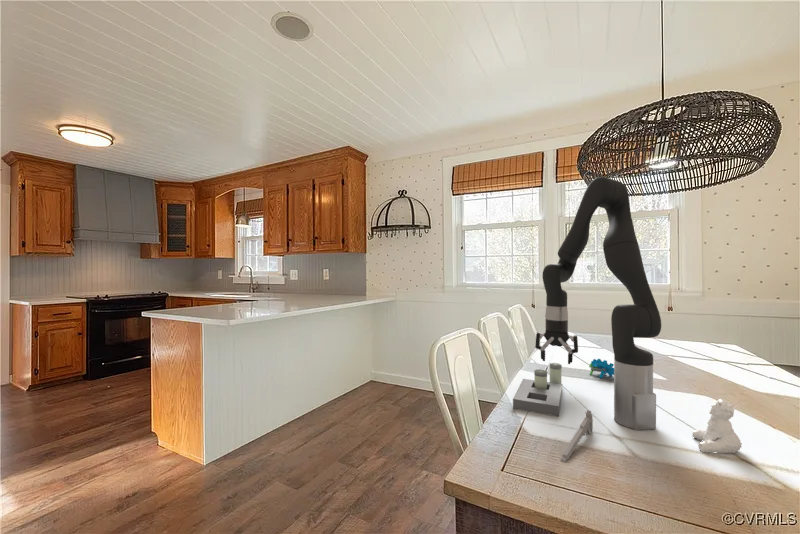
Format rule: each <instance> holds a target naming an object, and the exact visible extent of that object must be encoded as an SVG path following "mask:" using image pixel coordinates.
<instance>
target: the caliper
mask: <svg viewBox="0 0 800 534" xmlns="http://www.w3.org/2000/svg"><path fill="white" fill-rule="evenodd" d="M593 428H594V425H593V413H592V411H591V410H588V409H587V410H586V412H585V417H584V418H583V419H582V421H581V423H580V424H579V428H578V429H577V431H576V432H575V433H574V435H573V436H572V438H571V440H570V441H569V442H568V444H567V446H566V448H565V449H564V450H563V452H562V454H561V455H562V456H561V457H560V461H561V462H564V463H566V462H567V460H568V459H570V457H571V456H572V454H573V452H574V451H575V449H576V447H577V445H578V444H579V442H580V441H581V439H583V436H584V437H585V436H586V435H589V436H590V435H591V433H593V430H594V429H593Z"/></svg>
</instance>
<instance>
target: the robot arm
mask: <svg viewBox="0 0 800 534" xmlns="http://www.w3.org/2000/svg"><path fill="white" fill-rule="evenodd" d="M628 190H629V189H628V188H627V185H625V184H624V183H623V182H621V181H620V180H616V179H612V178H608V177H605V176H598V177H595V178H594V179H593V180H591V181H590V183H589V184H588V186H586V189H585V191H584V194H583V196H582V199H581V202H580V204H579V207H578V208H577V211H576V214H575V217H574V220H573V222H572V225H571V227H570V229H569V231H568V233H567V234H566V237H565V238H564V240H563V242H562V243H561V245H560V247H559V248H558V250H557V256H558V258H559V260H558V262H557V263H549V264H547V265H545V266H544V268H543V270H542V273H541V275H542V276H541V277H542V282H543V287H544V290H545V293H546V301H545V303H546V307H545V332H540V331H537V332H536V334H535V349H537V350H540V358H541V360H542V362H545V361H546V348H547V347H549V345H551V346H553V347H564V349H565V350H566V352H567V364H568V365H571V363H573V354H577V353H578V352H579V343H578V341H579V339H578V335H577V334H574V335H569V331H568V330H569V312H568V311H569V310H568V292H567V290H564V289H563V288H562V283H565V282H567V281H569V280H570V279H571V278H572V276H573V274H574V271H575V268H576V265H577V262H578V260H579V258H580V256H581V255H582V253H583V251H584V250H585V248H586V247H587V245H588V243H589V238H590V237H589V236H590V225H591V221H592V217H593V216H594V213H595V212H596V210H597V209H598V208H602V209H604V210H605V212H606V214H607V215H606V217H607V220H608V229H607V231H606V233H605V236H604V239H603V242H602V249H603V255H604V259H605V263H606V267H607V268H608V270H609V271H610V272H611V273H612V275H614V277H616V278H617V280H618V281H619V282H620V283H622V285H623V286H624V287H625V288H626V289H627V291H628V292H629V294H630V297H631V299H632V303H633V304H617V305H616V306H614V308H613V309H612V311H611V320H610V321H611V339H612V342H611V343H612V350H613V351H612V352H613V356H614V357H613V359H614V360H613V364H614V365H613V368H614V375H613V377H614V378H613V379H614V380H613V385H614V386H613V392H614V393H613V419H614V422H617V424H620V425H622V426H625V427H628V428H630V429H633V430H636V431H637V430H638V431H640V430H641V431H642V430H656V429H657V394H656V393H654V354H653V353H652V352H650V351H648V350H646V349H643V348H639V347H637V346H636V345H635V338H639V339H640V338H641V339H644V338H645V339H646V338H647V339H649V338H650V339H651V338H656V337H658V336H659V335H660V333H661V331H662V318H661V314H660V311H659V308H658V306H657V303H656V300H655V297H654V295H653V292H652V289H651V287H650V285H649V281H648V278H647V274H646V271H645V270H646V269H645V267H644V263H643V258H642V253H641V250H640V246H639V242H638V239H637V235H636V232H635V227H634V223H633V220H632V219H633V217H632V213H631V205H630V196H629V192H628ZM543 337H544V339H545V340H546V341H545V342H544V343H543V345H541V339H542V338H543ZM569 340H571V342H573V348H571V346H570V345H569V343H568V341H569Z"/></svg>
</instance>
